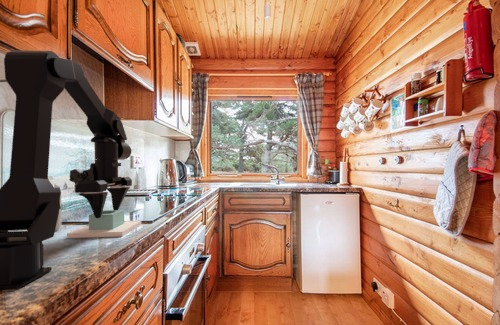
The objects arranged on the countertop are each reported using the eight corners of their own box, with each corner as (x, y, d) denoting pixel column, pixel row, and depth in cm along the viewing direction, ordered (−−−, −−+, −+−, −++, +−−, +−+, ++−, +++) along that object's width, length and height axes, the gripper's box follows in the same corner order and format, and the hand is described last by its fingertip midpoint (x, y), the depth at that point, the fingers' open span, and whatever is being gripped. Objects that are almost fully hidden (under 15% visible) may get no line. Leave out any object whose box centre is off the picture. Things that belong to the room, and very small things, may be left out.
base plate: (122, 236, 63) (122, 218, 63) (67, 237, 63) (66, 219, 63) (141, 224, 75) (141, 209, 75) (94, 225, 75) (94, 210, 75)
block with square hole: (113, 229, 66) (112, 214, 66) (88, 229, 65) (88, 215, 65) (124, 223, 72) (124, 209, 72) (102, 224, 72) (102, 210, 72)
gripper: (96, 160, 78) (97, 208, 78) (51, 159, 59) (52, 223, 59) (132, 159, 78) (133, 208, 78) (98, 158, 60) (99, 222, 60)
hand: (107, 214), depth 69 cm, fingers open, 9 cm apart
